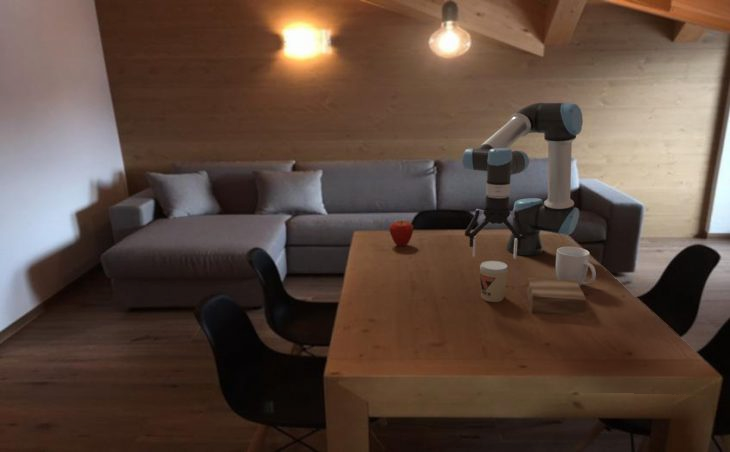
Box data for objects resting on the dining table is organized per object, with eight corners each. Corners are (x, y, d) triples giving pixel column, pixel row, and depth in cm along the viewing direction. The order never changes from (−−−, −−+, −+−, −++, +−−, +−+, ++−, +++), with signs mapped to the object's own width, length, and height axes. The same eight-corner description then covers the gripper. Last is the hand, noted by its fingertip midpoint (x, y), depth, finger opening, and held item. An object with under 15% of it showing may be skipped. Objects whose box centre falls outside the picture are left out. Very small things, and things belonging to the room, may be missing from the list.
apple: (390, 241, 238) (390, 217, 234) (413, 242, 236) (413, 217, 233) (388, 249, 227) (388, 223, 224) (412, 249, 226) (412, 224, 222)
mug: (602, 289, 179) (606, 255, 175) (583, 296, 173) (587, 261, 169) (565, 277, 191) (568, 244, 187) (547, 283, 185) (550, 250, 181)
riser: (526, 293, 176) (527, 277, 175) (574, 296, 173) (576, 280, 171) (531, 313, 161) (533, 296, 160) (584, 317, 158) (586, 299, 156)
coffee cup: (473, 294, 176) (474, 262, 173) (494, 290, 180) (496, 258, 177) (489, 304, 168) (491, 271, 165) (511, 299, 172) (514, 267, 168)
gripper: (458, 197, 163) (456, 258, 169) (538, 199, 158) (533, 262, 164) (459, 192, 170) (457, 251, 176) (535, 194, 165) (531, 255, 171)
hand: (494, 256), depth 170 cm, fingers open, 13 cm apart
